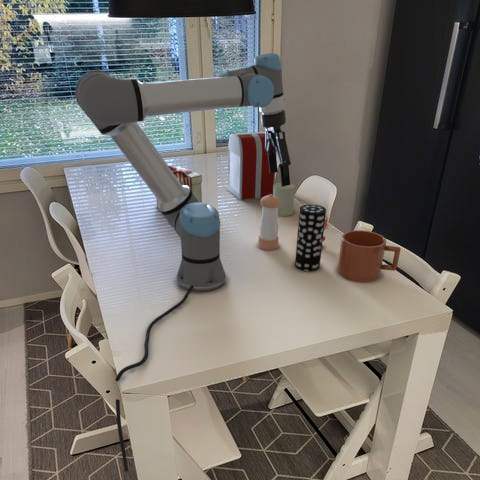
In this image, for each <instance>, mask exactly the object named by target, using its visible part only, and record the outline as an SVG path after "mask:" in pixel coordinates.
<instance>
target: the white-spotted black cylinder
mask: <svg viewBox="0 0 480 480" xmlns="http://www.w3.org/2000/svg"><path fill="white" fill-rule="evenodd" d="M298 212H299V214H298V224H297V235H296V236H297V237H296V247H295V258H294V267H295V268H296V269H297V270H299V271H302V272H310V273H311V272H315V271H318V270H320V266H321V258H322V250H323V248H322V245H323V242H324V241H323V236H324V233H325V230H324V225H325V218H326V215H327V208H326V207H324V206H323V205H319V204H313V203H312V204H304V205H303V204H302V205H301V206H299V211H298Z"/></svg>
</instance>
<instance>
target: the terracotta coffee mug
mask: <svg viewBox="0 0 480 480" xmlns="http://www.w3.org/2000/svg"><path fill="white" fill-rule="evenodd" d="M340 241H341V242H340V248H339V255H338V262H337V269H336V271H337V274H338V275H339V276H340V277H342V278H344V279H346V280H348V281H352V282H356V283H357V282H358V283H370V282H374V281H376V280H378V279H379V278H380V276H381V273H382V270H385V271H393V272H395V271H397V269H398V264H399V260H400V256H401V255H400V254H401V251H402V250H401V247H400V246H394V245H387V239H386V238H385V236H383V235H381V234H379V233H377V232H375V231H369V230H361V229H359V230H356V229H355V230H349V231H346V232H344V233H342V235H341V240H340ZM385 251H386V252H394V254H393V258H392V264H391V265H390V264H383V262H384V256H385Z"/></svg>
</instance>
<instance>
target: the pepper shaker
mask: <svg viewBox="0 0 480 480" xmlns="http://www.w3.org/2000/svg"><path fill="white" fill-rule="evenodd" d="M280 203H281V201H280V199H279V198H278V197H276V196H273V195H272V194H269V195H267V196H264V197H262V198H261V199H260V206H262V211H261V220H260V225H259V235H258V239H257V243H258V244H257V247H258V248H260V249H262V250H268V251H270V250H271V251H272V250H275V249H277V248H279V239H280V238H279V218H278V216H279V215H278V207H279V206H280Z"/></svg>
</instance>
